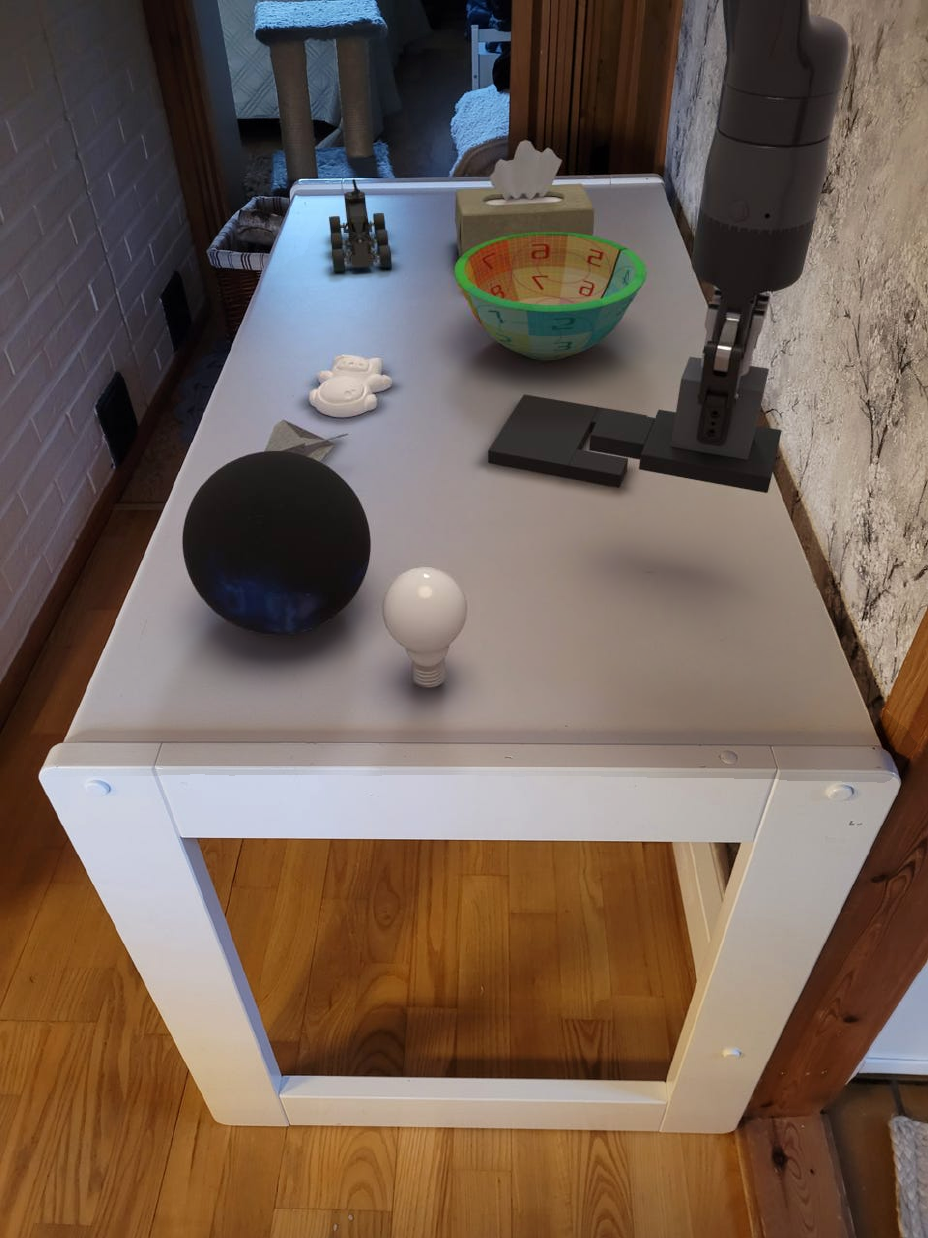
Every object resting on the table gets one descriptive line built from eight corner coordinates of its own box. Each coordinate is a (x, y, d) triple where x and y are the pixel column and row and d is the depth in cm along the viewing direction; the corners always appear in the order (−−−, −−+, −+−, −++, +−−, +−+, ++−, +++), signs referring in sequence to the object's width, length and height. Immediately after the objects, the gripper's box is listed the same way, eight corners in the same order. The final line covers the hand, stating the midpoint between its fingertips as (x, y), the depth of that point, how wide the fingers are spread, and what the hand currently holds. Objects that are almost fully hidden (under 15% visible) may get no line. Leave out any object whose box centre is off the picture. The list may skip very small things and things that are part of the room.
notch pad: (645, 426, 104) (647, 414, 103) (619, 487, 96) (620, 475, 95) (523, 405, 107) (523, 393, 106) (488, 462, 99) (487, 450, 98)
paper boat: (271, 428, 103) (351, 403, 102) (289, 486, 104) (369, 462, 103) (234, 428, 91) (323, 400, 90) (255, 493, 92) (344, 466, 91)
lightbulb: (448, 643, 80) (444, 540, 72) (482, 693, 76) (481, 589, 68) (378, 668, 78) (366, 564, 70) (408, 721, 74) (398, 617, 66)
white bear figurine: (403, 371, 114) (401, 347, 112) (366, 422, 106) (363, 398, 103) (336, 361, 116) (333, 338, 114) (294, 411, 108) (290, 387, 106)
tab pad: (778, 445, 78) (798, 361, 72) (767, 493, 73) (789, 407, 68) (605, 415, 81) (613, 333, 76) (584, 459, 76) (591, 375, 71)
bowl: (492, 407, 107) (492, 323, 101) (433, 322, 123) (429, 245, 116) (670, 371, 112) (681, 290, 106) (591, 295, 128) (597, 219, 121)
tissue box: (460, 272, 134) (457, 153, 123) (455, 245, 141) (451, 130, 130) (592, 265, 135) (601, 146, 124) (580, 238, 142) (587, 123, 131)
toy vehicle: (384, 231, 146) (380, 171, 140) (392, 271, 135) (387, 208, 129) (331, 235, 145) (324, 175, 139) (334, 276, 134) (327, 212, 128)
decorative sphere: (381, 554, 89) (366, 412, 78) (373, 670, 78) (355, 523, 67) (219, 558, 89) (183, 417, 78) (188, 675, 78) (142, 529, 67)
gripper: (806, 251, 57) (751, 487, 69) (826, 172, 67) (774, 391, 78) (681, 236, 59) (648, 468, 71) (718, 162, 69) (683, 377, 80)
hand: (715, 426), depth 75 cm, fingers closed on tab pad, 3 cm apart
